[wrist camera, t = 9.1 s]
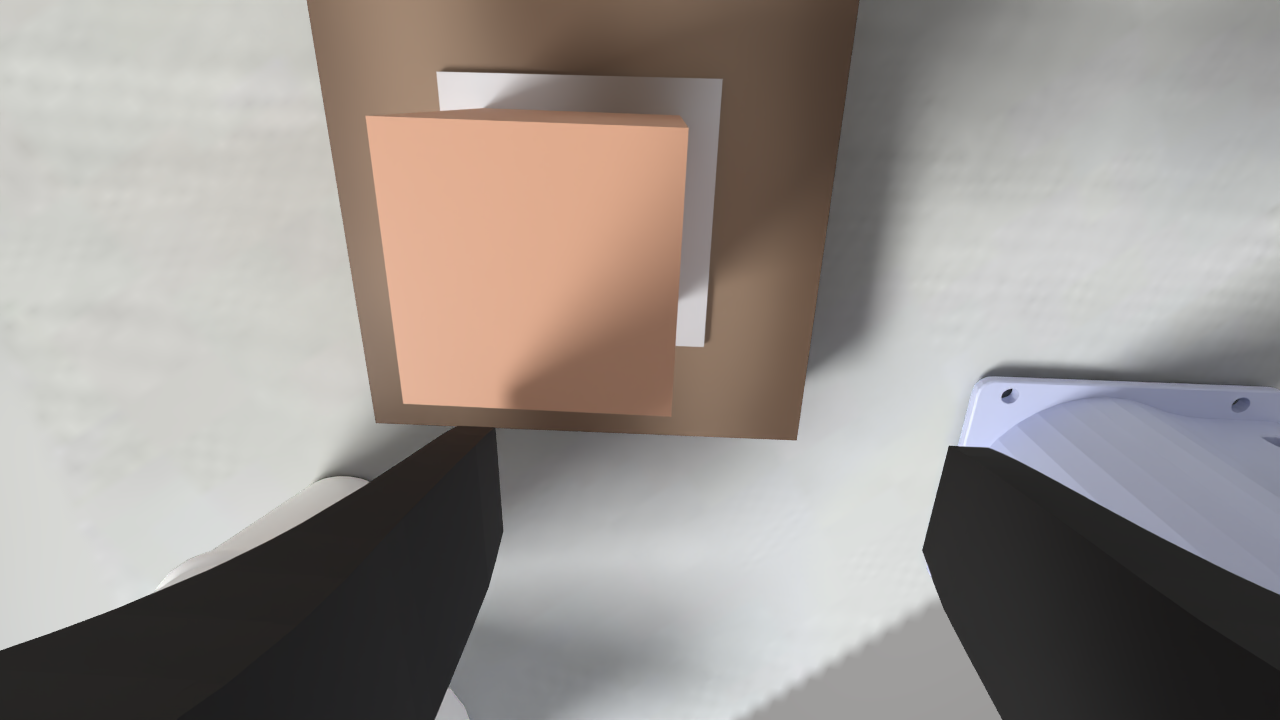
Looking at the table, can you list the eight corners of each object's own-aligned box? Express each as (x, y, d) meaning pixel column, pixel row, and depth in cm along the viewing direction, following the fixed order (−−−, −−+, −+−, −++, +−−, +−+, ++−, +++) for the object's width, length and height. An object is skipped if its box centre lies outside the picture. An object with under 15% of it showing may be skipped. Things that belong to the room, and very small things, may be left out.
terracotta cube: (680, 115, 14) (688, 128, 9) (669, 304, 16) (671, 416, 10) (482, 108, 14) (365, 115, 9) (494, 296, 16) (403, 404, 10)
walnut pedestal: (832, -39, 15) (871, -70, 13) (778, 393, 20) (797, 443, 17) (358, -48, 16) (288, -81, 13) (414, 379, 20) (372, 426, 18)
